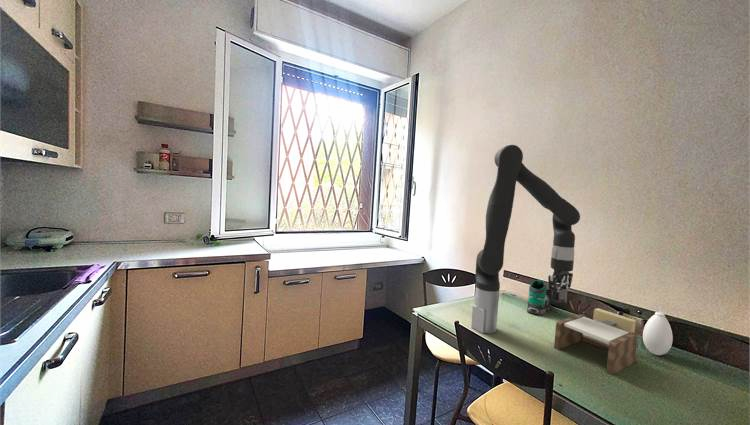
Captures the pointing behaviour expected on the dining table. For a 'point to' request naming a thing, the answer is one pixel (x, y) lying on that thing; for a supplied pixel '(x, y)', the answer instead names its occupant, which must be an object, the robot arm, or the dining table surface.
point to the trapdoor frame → (600, 345)
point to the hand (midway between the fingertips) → (558, 299)
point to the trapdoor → (603, 325)
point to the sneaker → (538, 298)
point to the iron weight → (562, 295)
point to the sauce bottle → (658, 334)
